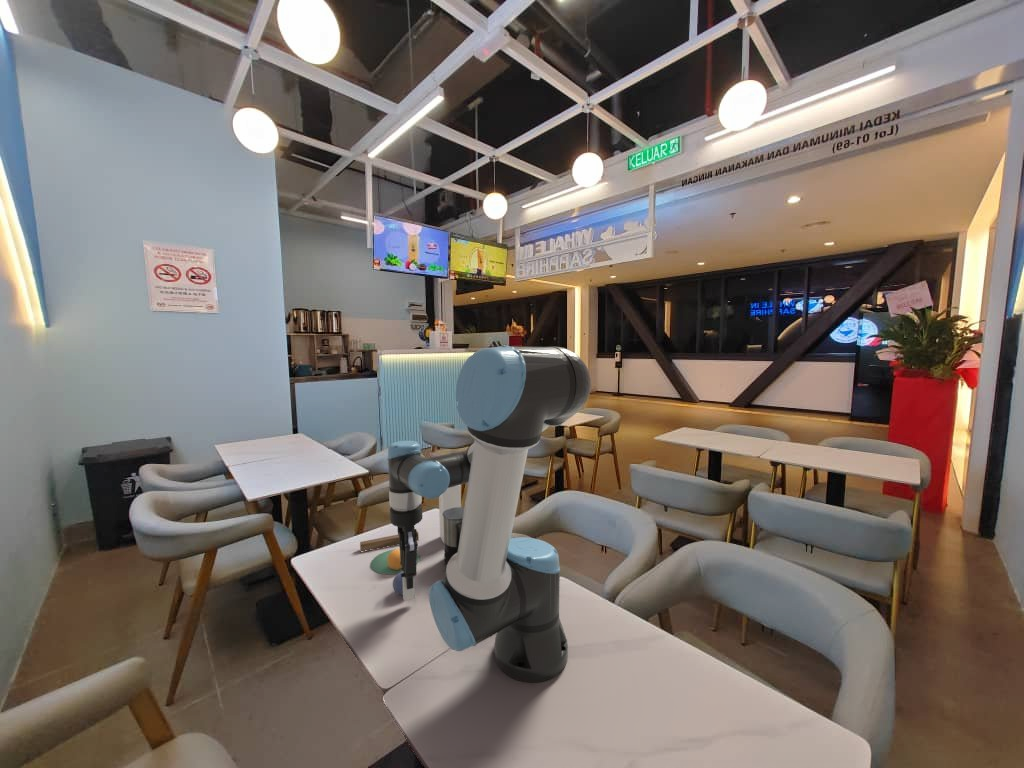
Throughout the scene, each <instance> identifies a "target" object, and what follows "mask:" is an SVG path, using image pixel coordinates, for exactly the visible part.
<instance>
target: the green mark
mask: <svg viewBox="0 0 1024 768" xmlns="http://www.w3.org/2000/svg"><path fill="white" fill-rule="evenodd" d="M395 549H396V548H395ZM395 549H391V550H386V551H383V552H382V553H380V554H378V555H376V556H375V557H374V558H373V559H372V560H371V562H370V569H371V570H372V571H373V572H374V573H377V574H381V575H395V574H396V575H397V574H398V573H400V572H402V568H401V569H398V570H394V569H391V568H390V567H389V565H388V563H387V558H388V555H389V554H390V553H391V552H392V551H393V550H395ZM419 555H420V554H419V553H418V552H417V564H418V563H419V560H420V556H419Z"/></svg>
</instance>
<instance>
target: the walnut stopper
mask: <svg viewBox="0 0 1024 768" xmlns="http://www.w3.org/2000/svg"><path fill="white" fill-rule="evenodd" d="M416 531H417V536H416V542H418V541H420V540H419V531H418V530H416ZM417 540H418V541H417ZM397 544H399V535H398V534H394V535H393V534H392V535H388V536H384V537H379V538H373V539H368V540H363V541H359V546H360V547H359V549H360V550H361V551H365V550H370V549H375V550H378V549H377V548H380V549H383V547H385V548H388V547H387V546H389V547H394V546H398V545H397ZM393 545H394V546H393ZM361 551H360V552H361ZM370 551H371V550H370ZM365 552H366V551H365Z"/></svg>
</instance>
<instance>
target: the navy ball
mask: <svg viewBox="0 0 1024 768" xmlns="http://www.w3.org/2000/svg"><path fill="white" fill-rule="evenodd" d="M402 573H404V571H402V572H400V573H396V575H395V576H394V578H393V580H392V590H393V591H394V593H396V594H397V595H398V596H399V595H400V596H403V580H402V578H401V574H402Z"/></svg>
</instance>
